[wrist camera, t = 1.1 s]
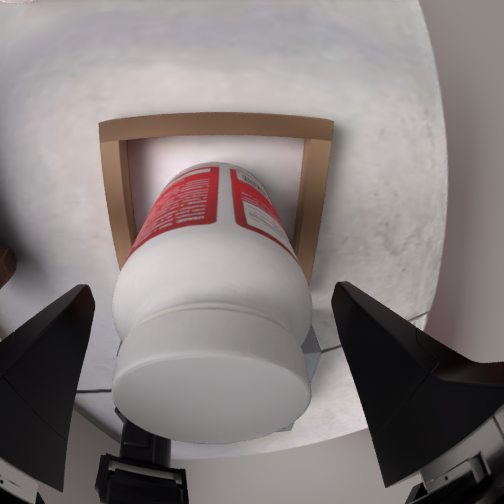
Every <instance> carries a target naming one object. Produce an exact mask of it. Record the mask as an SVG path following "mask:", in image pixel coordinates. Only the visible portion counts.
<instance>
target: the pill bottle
mask: <svg viewBox="0 0 504 504" xmlns="http://www.w3.org/2000/svg"><path fill="white" fill-rule="evenodd" d="M112 311H113V318H114V323H115V327H116V330H117V332H118V335H119V337H120V339H121V341H122V342H123V343H122V345H121V347H120V349H119V353H118V358H117V363H116V368H115V373H114V378H113V382H112V398H113V400H114V403H115V405H116V407H117V408H118V410H119V411H120V412H121V413H122V414H123V415H124V416H125V417H126V418H127V419H128V420H129V421H131V422H132V423H134V424H135V425H137V426H139V427H141V428H142V429H144V430H146V431H148V432H150V433H153V434H156V435H158V436H162V437H165V438H168V439H172V440H177V441H183V442H189V443H197V444H225V443H235V442H242V441H247V440H252V439H256V438H259V437H263V436H267V435H269V434H272V433H274V432H276V431H278V430H281V429H283V428H285V427H286V426H288V425H290V424H291V423H293V422H294V421H296V420H297V419H298V418H299V417H300V416H301V415H302V414H303V413H304V412H305V411H306V409H307V408H308V406H309V404H310V401H311V385H310V381H309V377H308V373H307V368H306V364H305V359H304V354H303V351H302V349H301V345H302V344H303V342H304V340H305V338H306V336H307V334H308V331H309V328H310V324H311V318H312V299H311V294H310V290H309V287H308V284H307V280H306V277H305V275H304V273H303V271H302V269H301V266H300V264H299V262H298V259H297V257H296V255H295V253H294V251H293V248H292V246H291V244H290V242H289V240H288V238H287V235H286V233H285V231H284V229H283V227H282V224H281V222H280V220H279V218H278V216H277V213H276V211H275V209H274V207H273V205H272V203H271V201H270V198H269V196H268V194H267V193H266V191H265V189H264V188H263V186H262V185H261V184H260V183H259V181H258V180H257V179H256V178H255V177H253V176H252V175H251V174H249V173H248V172H246V171H245V170H243V169H241V168H239V167H236V166H233V165H230V164H226V163H218V162H210V163H203V164H198V165H195V166H192V167H189V168H187V169H185V170H183V171H182V172H180V173H179V174H177V175H176V176H175V177H174V178H173V179H172V180H171V181H170V182H169V183H168V184H167V185H166V186H165V188H164V189H163V191H162V192H161V194H160V195H159V197H158V199H157V201H156V203H155V204H154V206H153V208H152V210H151V211H150V213H149V215H148V217H147V219H146V221H145V223H144V224H143V226H142V228H141V230H140V232H139V234H138V236H137V238H136V240H135V242H134V244H133V246H132V248H131V250H130V252H129V254H128V256H127V258H126V260H125V262H124V264H123V267H122V269H121V271H120V274H119V276H118V279H117V282H116V285H115V288H114V293H113V302H112Z"/></svg>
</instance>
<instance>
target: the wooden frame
mask: <svg viewBox="0 0 504 504" xmlns="http://www.w3.org/2000/svg"><path fill="white" fill-rule="evenodd" d="M333 124H334V121H331V120H327V119H321V118H313V117H304V116H293V115H281V114H266V113H242V112H200V113H176V114H161V115H149V116H139V117H130V118H122V119H115V120H108V121H104V122H100V123H99V137H100V151H101V162H102V171H103V179H104V187H105V195H106V201H107V208H108V214H109V220H110V225H111V231H112V236H113V241H114V246H115V251H116V255H117V260H118V264H119V268H120V271H121V269H122V267H123V264H124V262H125V260H126V258H127V256H128V254H129V252H130V250H131V248H132V246H133V244H134V242H135V240H136V238H137V234H136V227H135V221H134V213H133V206H132V197H131V188H130V179H129V168H128V155H127V140H129V139H139V138H151V137H165V136H185V135H260V136H280V137H294V138H305V141H304V151H303V162H302V172H301V181H300V190H299V199H298V208H297V216H296V224H295V232H294V240H293V251H294V253H295V255H296V257H297V259H298V262H299V264H300V266H301V269H302V271H303V273H304V275H305V277H306V280H307V284H308V287H309V283H310V278H311V273H312V268H313V263H314V257H315V252H316V246H317V240H318V235H319V229H320V223H321V216H322V210H323V203H324V197H325V190H326V183H327V175H328V168H329V160H330V151H331V143H332V134H333Z"/></svg>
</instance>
